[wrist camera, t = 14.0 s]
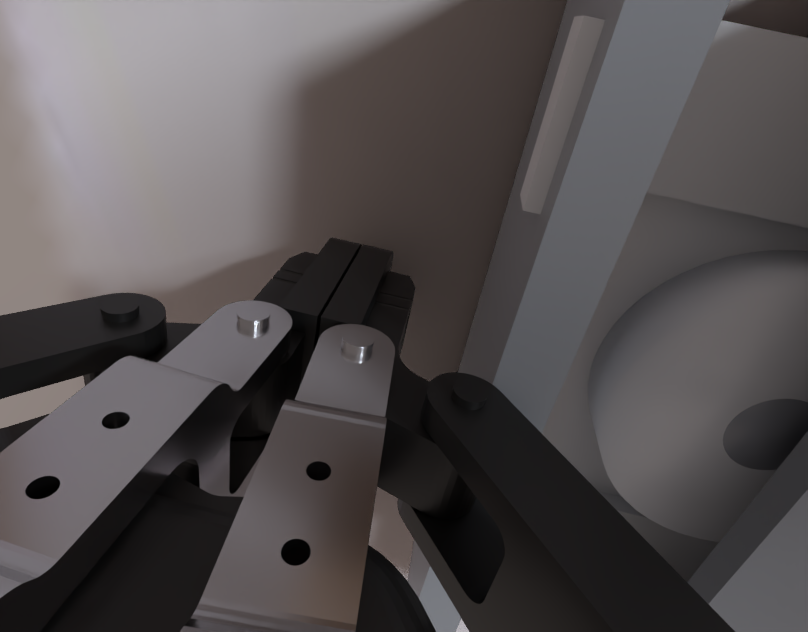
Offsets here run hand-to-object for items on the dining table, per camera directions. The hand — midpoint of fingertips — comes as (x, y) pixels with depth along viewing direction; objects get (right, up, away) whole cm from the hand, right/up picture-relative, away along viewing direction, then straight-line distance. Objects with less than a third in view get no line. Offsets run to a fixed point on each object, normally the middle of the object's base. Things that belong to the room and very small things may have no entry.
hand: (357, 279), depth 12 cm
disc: (+9, -2, -1) cm, 9 cm away
